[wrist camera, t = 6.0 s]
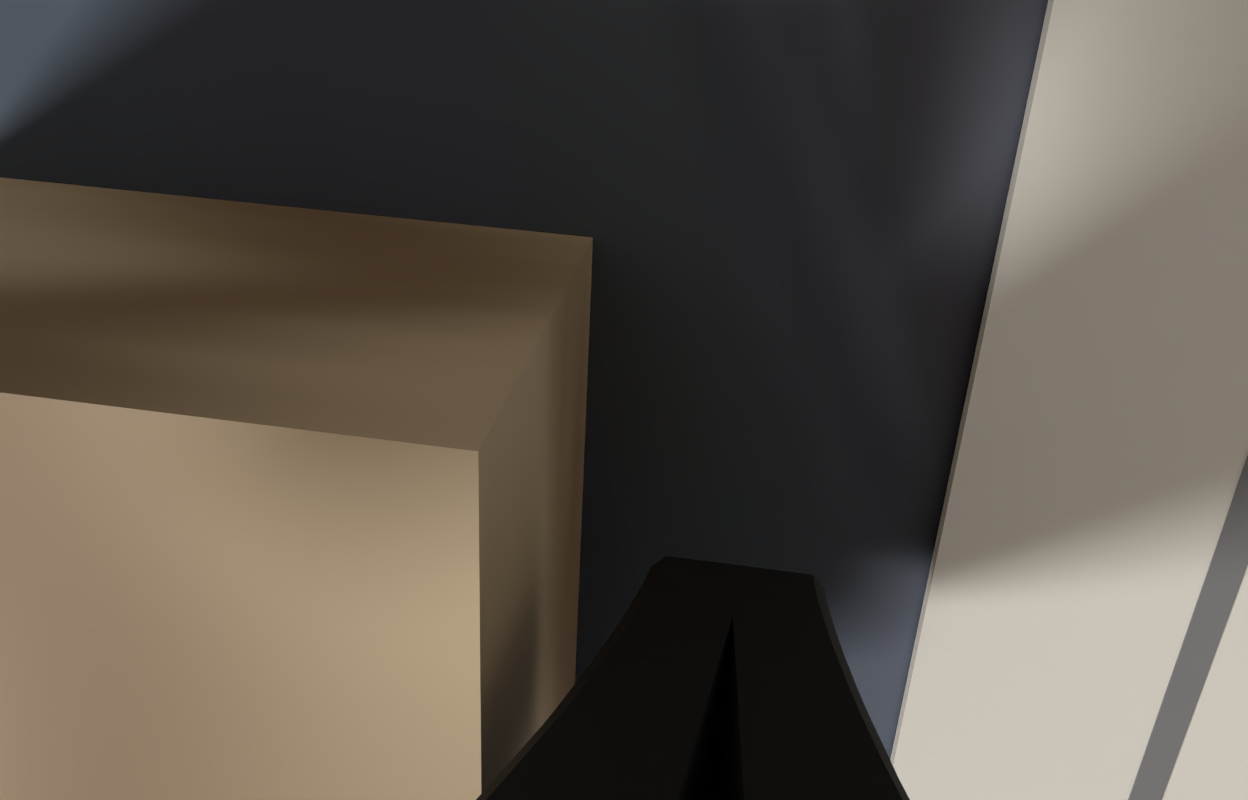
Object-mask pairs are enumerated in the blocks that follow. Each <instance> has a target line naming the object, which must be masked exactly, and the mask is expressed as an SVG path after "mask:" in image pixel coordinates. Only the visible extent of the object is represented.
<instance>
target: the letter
mask: <svg viewBox="0 0 1248 800" xmlns="http://www.w3.org/2000/svg"><path fill="white" fill-rule="evenodd" d="M890 761H891V763H892V765H893V767H894V769H895V771H896V774H897V776H898V778H899V780H900V782H901V784H902V786H903V788H904V789H905V791H906V793H907V795H908V797H909V799H910V800H1248V0H1048V4H1047V9H1046V14H1045V19H1044V23H1043V28H1042V33H1041V38H1040V43H1039V47H1038V52H1037V57H1036V62H1035V67H1034V71H1033V76H1032V81H1031V86H1030V91H1029V96H1028V100H1027V105H1026V110H1025V115H1024V120H1023V124H1022V129H1021V134H1020V139H1019V144H1018V148H1017V153H1016V158H1015V163H1014V168H1013V172H1012V177H1011V182H1010V187H1009V192H1008V196H1007V201H1006V206H1005V211H1004V216H1003V221H1002V225H1001V230H1000V235H999V240H998V245H997V249H996V254H995V259H994V264H993V269H992V273H991V278H990V283H989V288H988V293H987V297H986V302H985V307H984V312H983V317H982V321H981V326H980V331H979V336H978V341H977V345H976V350H975V355H974V360H973V365H972V370H971V374H970V379H969V384H968V389H967V394H966V398H965V403H964V408H963V413H962V418H961V422H960V427H959V432H958V437H957V442H956V446H955V451H954V456H953V461H952V466H951V470H950V475H949V480H948V485H947V490H946V495H945V499H944V504H943V509H942V514H941V519H940V523H939V528H938V533H937V538H936V543H935V547H934V552H933V557H932V562H931V567H930V571H929V576H928V581H927V586H926V591H925V595H924V600H923V605H922V610H921V615H920V619H919V624H918V629H917V634H916V639H915V644H914V648H913V653H912V658H911V663H910V668H909V672H908V677H907V682H906V687H905V692H904V696H903V701H902V706H901V711H900V716H899V720H898V725H897V730H896V735H895V740H894V744H893V749H892V754H891V759H890Z"/></svg>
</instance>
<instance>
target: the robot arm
mask: <svg viewBox="0 0 1248 800" xmlns="http://www.w3.org/2000/svg"><path fill="white" fill-rule="evenodd" d="M476 800H910V799H909V797H908V795H907V793H906V791H905V789H904V788H903V786H902V784H901V782H900V780H899V778H898V776H897V774H896V771H895V769H894V767H893V765H892V763H891V761H890V759H889V757H888V755H887V753H886V750H885V748H884V746H883V744H882V742H881V740H880V738H879V736H878V734H877V732H876V729H875V727H874V725H873V723H872V721H871V719H870V717H869V715H868V712H867V710H866V708H865V705H864V703H863V701H862V698H861V696H860V694H859V691H858V689H857V687H856V684H855V682H854V679H853V676H852V674H851V671H850V669H849V666H848V664H847V661H846V659H845V656H844V654H843V651H842V648H841V645H840V642H839V640H838V637H837V634H836V631H835V628H834V625H833V622H832V618H831V615H830V611H829V608H828V605H827V601H826V596H825V591H824V588H823V587H822V586H821V584H820V583H819V582H818V581H817V580H816V578H815V577H814V576H813V575H810V574H802V573H794V572H786V571H778V570H770V569H763V568H755V567H747V566H739V565H731V564H723V563H716V562H708V561H700V560H692V559H684V558H676V557H669V556H666V557H664V558H663V559H661V560H660V561H658V562H657V563H655V564H654V565H652V567H651V569H650V571H649V573H648V575H647V577H646V579H645V581H644V583H643V585H642V587H641V589H640V590H639V592H638V594H637V595H636V597H635V599H634V601H633V602H632V604H631V606H630V607H629V609H628V610H627V612H626V613H625V615H624V617H623V618H622V620H621V621H620V623H619V624H618V626H617V627H616V629H615V630H614V631H613V633H612V634H611V636H610V637H609V639H608V640H607V642H606V643H605V644H604V646H603V647H602V649H601V650H600V652H599V653H598V654H597V656H596V657H595V658H594V660H593V661H592V662H591V664H590V665H589V666H588V668H587V669H586V670H585V671H584V673H583V674H582V675H581V677H580V678H579V679H578V681H577V682H576V683H575V685H574V686H573V687H572V688H571V690H570V691H569V692H568V694H567V695H566V696H565V698H564V699H563V700H562V701H561V703H560V704H559V705H558V707H557V708H556V709H555V710H554V712H553V713H552V714H551V715H550V717H549V718H548V719H547V720H546V721H545V723H544V724H543V725H542V726H541V727H540V728H539V730H538V731H537V732H536V733H535V734H534V735H533V736H532V737H531V739H530V740H529V741H528V742H527V743H526V744H525V745H524V747H523V748H522V749H521V750H520V751H519V752H518V753H517V754H516V756H515V757H514V758H513V759H512V760H511V761H510V762H509V763H508V765H507V766H506V767H505V768H504V769H503V770H502V771H501V773H500V774H499V775H498V776H497V777H496V778H495V779H494V780H493V782H492V783H491V784H490V785H489V786H488V787H487V788H486V789H485V790H484V792H483V793H482V794H481V795H480V796H479V797H478V798H477V799H476Z"/></svg>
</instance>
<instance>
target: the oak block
mask: <svg viewBox="0 0 1248 800" xmlns="http://www.w3.org/2000/svg"><path fill="white" fill-rule="evenodd" d="M592 252H593V237H583V236H574V235H564V234H554V233H544V232H534V231H524V230H514V229H504V228H495V227H485V226H475V225H465V224H455V223H445V222H435V221H426V220H416V219H406V218H396V217H386V216H376V215H366V214H357V213H347V212H337V211H327V210H317V209H307V208H297V207H288V206H278V205H268V204H258V203H248V202H238V201H228V200H218V199H209V198H199V197H189V196H179V195H169V194H159V193H149V192H140V191H130V190H120V189H110V188H100V187H90V186H80V185H71V184H61V183H51V182H41V181H31V180H21V179H11V178H1V177H0V800H476V799H477V798H478V797H479V796H480V795H481V794H482V793H483V792H484V790H485V789H486V788H487V787H488V786H489V785H490V784H491V783H492V782H493V780H494V779H495V778H496V777H497V776H498V775H499V774H500V773H501V771H502V770H503V769H504V768H505V767H506V766H507V765H508V763H509V762H510V761H511V760H512V759H513V758H514V757H515V756H516V754H517V753H518V752H519V751H520V750H521V749H522V748H523V747H524V745H525V744H526V743H527V742H528V741H529V740H530V739H531V737H532V736H533V735H534V734H535V733H536V732H537V731H538V730H539V728H540V727H541V726H542V725H543V724H544V723H545V721H546V720H547V719H548V718H549V717H550V715H551V714H552V713H553V712H554V710H555V709H556V708H557V707H558V705H559V704H560V703H561V701H562V700H563V699H564V698H565V696H566V695H567V694H568V692H569V691H570V690H571V688H572V687H573V686H574V685H575V671H576V647H577V622H578V597H579V573H580V548H581V523H582V499H583V474H584V449H585V425H586V400H587V375H588V351H589V326H590V301H591V277H592Z"/></svg>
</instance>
